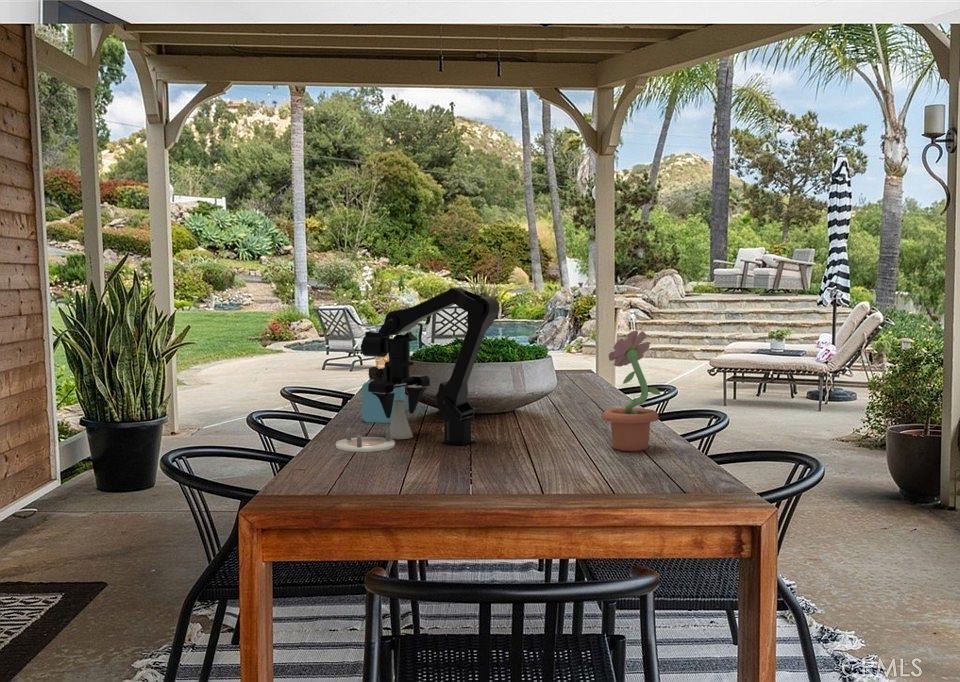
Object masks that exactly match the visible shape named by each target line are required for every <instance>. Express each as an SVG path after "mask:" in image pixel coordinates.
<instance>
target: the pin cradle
mask: <svg viewBox="0 0 960 682" xmlns="http://www.w3.org/2000/svg"><path fill="white" fill-rule="evenodd" d="M345 429H346V431H345V432H346V438H344V439H340V440H337V441H336V442H335V449H336V450H339V451H343V452H350V453H373V452H381V451H387V450H390V449H394V448H395V447H396V440H395V439H390V429H389V428H385V437H381V436H362V434H357V435H356V437H352V427H346V428H345Z"/></svg>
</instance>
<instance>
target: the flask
mask: <svg viewBox="0 0 960 682" xmlns="http://www.w3.org/2000/svg"><path fill="white" fill-rule="evenodd" d="M393 402H394V404H395V409H394V415H393V418H392V421H391V423H390V425H389V427H388V429H390V439H392V440H407V439H408V440H409V439H411V438H413V437H414V435H413V433H412V430H411V427H410V424H409V421H408V419H407V418H408V417H407V415H406V411H405V409H404V403H405V401H404V400H395V401H393Z"/></svg>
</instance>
